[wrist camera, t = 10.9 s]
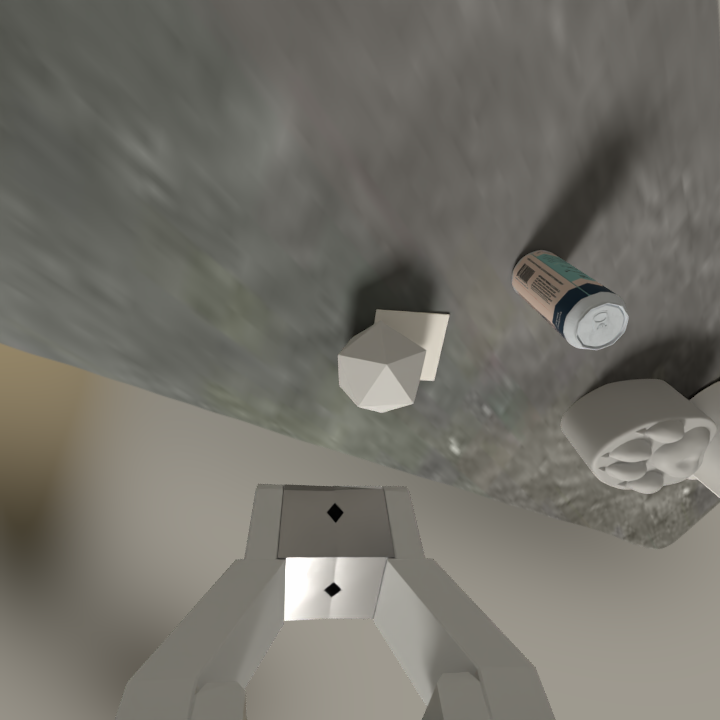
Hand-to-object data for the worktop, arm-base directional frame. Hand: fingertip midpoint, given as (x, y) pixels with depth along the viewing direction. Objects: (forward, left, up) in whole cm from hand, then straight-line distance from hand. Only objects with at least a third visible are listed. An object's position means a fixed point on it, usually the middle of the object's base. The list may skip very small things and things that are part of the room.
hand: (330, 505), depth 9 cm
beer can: (-21, +5, -33) cm, 40 cm away
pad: (-10, +14, -33) cm, 37 cm away
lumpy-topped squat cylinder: (-37, +22, -33) cm, 54 cm away
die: (-3, +14, -30) cm, 34 cm away
